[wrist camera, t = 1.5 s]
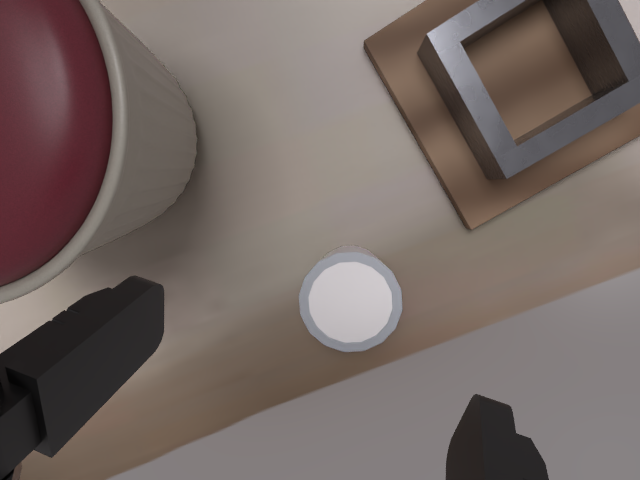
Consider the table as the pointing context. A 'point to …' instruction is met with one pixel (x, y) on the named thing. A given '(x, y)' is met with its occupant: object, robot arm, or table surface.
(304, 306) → the white short cylinder
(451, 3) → the base board
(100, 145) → the canister
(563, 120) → the collar
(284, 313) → the table surface
